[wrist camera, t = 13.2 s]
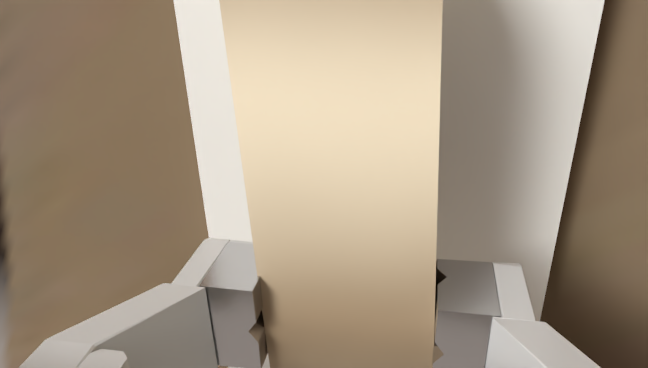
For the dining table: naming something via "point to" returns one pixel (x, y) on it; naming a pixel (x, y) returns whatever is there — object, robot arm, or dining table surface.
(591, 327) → the dining table surface
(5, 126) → the dining table surface
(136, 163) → the dining table surface
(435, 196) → the scraper
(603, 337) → the dining table surface
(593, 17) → the tool board
